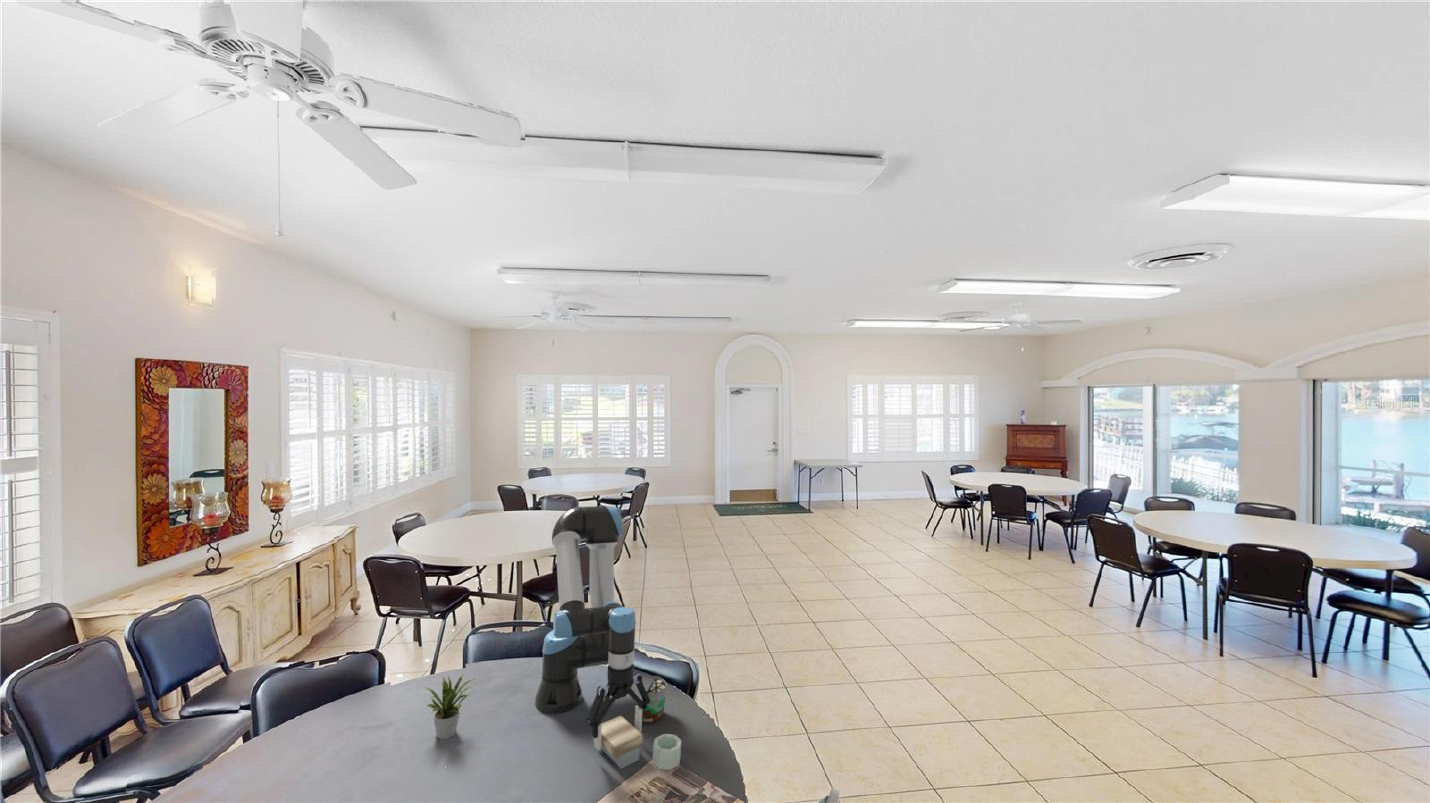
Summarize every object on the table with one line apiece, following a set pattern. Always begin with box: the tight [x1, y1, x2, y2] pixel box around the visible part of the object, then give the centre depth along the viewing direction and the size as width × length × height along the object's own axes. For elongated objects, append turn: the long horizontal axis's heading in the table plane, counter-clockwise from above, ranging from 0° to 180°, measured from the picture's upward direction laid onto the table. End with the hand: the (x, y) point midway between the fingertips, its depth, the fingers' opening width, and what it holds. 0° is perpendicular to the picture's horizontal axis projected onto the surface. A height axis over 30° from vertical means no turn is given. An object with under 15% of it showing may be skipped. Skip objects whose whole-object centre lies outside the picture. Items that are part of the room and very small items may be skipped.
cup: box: [652, 733, 682, 771], centre depth 147 cm, size 8×8×5 cm
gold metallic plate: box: [600, 715, 644, 758], centre depth 150 cm, size 12×9×3 cm
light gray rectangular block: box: [601, 745, 641, 770], centre depth 150 cm, size 14×6×3 cm, turn 41°
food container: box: [642, 675, 669, 725], centre depth 168 cm, size 12×6×10 cm, turn 168°
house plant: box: [425, 673, 476, 740], centre depth 156 cm, size 14×14×16 cm
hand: (618, 738), depth 150 cm, fingers open, 13 cm apart
